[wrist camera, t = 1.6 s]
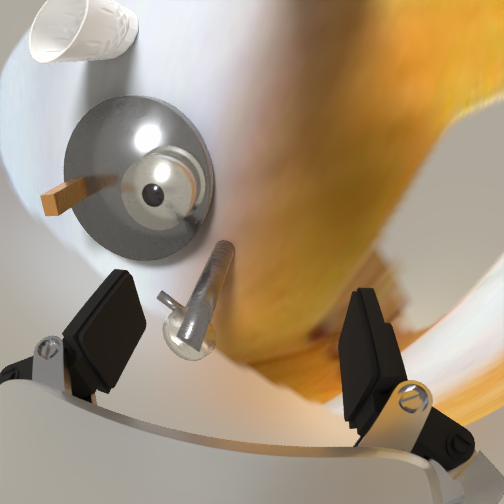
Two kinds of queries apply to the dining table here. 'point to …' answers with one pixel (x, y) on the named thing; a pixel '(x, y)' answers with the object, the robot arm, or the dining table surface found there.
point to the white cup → (81, 31)
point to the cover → (163, 187)
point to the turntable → (114, 167)
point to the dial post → (198, 308)
